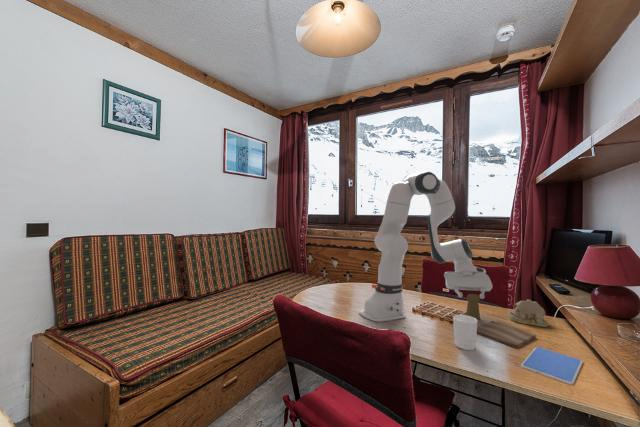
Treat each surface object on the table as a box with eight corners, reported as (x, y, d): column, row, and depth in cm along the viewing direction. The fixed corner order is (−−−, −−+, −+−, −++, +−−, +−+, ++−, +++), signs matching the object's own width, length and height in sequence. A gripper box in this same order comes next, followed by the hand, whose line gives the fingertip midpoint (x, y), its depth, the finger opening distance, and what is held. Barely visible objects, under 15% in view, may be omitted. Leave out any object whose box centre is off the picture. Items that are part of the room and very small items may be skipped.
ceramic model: (539, 318, 129) (540, 297, 129) (553, 328, 118) (554, 305, 118) (505, 315, 132) (505, 294, 132) (515, 325, 122) (516, 302, 121)
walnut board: (516, 348, 100) (516, 345, 100) (472, 331, 114) (472, 329, 114) (535, 337, 109) (535, 334, 109) (492, 323, 123) (492, 320, 123)
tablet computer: (572, 387, 79) (572, 383, 79) (519, 368, 89) (520, 364, 89) (583, 363, 92) (583, 359, 92) (535, 349, 101) (536, 345, 101)
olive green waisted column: (479, 316, 131) (479, 293, 130) (481, 321, 125) (482, 297, 125) (464, 315, 133) (464, 292, 132) (466, 319, 127) (467, 295, 127)
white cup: (476, 353, 97) (476, 324, 97) (451, 347, 101) (452, 319, 101) (477, 344, 103) (478, 317, 103) (454, 339, 108) (454, 313, 108)
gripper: (444, 267, 140) (449, 292, 131) (488, 269, 136) (497, 295, 127) (442, 274, 145) (446, 299, 135) (485, 276, 141) (493, 302, 131)
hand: (471, 297), depth 131 cm, fingers open, 8 cm apart
